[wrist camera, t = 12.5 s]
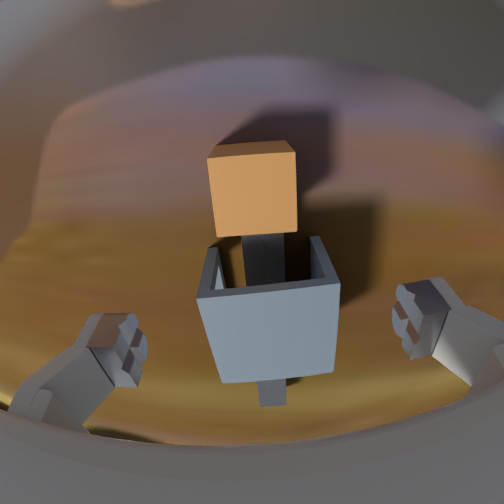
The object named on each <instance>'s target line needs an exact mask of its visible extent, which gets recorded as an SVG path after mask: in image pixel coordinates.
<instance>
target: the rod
mask: <svg viewBox="0 0 504 504" xmlns="http://www.w3.org/2000/svg"><path fill="white" fill-rule="evenodd" d="M241 239H242V248H243V258H244V267H245V277H246V286H247V287H248V286H258V285H267V284H276V283H285V255H284V233H269V234H255V235H241ZM257 384H258V393H259V402H260V407H265V406H279V405H286V378H285V379H276V380H265V381H257Z"/></svg>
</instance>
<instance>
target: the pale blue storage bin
mask: <svg viewBox="0 0 504 504" xmlns="http://www.w3.org/2000/svg"><path fill="white" fill-rule="evenodd" d="M310 265H311V279H310V280H302V281H293V282H285V283H276V284H267V285H258V286H248V287H238V288H228V289H226V285H225V280H224V275H223V270H222V265H221V260H220V255H219V250H218V247H212V248H208V251H207V255H206V259H205V264H204V268H203V272H202V276H201V280H200V285H199V289H198V293H197V298H196V300H197V303H198V307H199V310H200V313H201V317H202V320H203V324H204V327H205V330H206V334H207V337H208V340H209V343H210V347H211V350H212V353H213V356H214V359H215V362H216V365H217V369H218V372H219V375H220V378H221V381H222V383H239V382H253V381H265V380H276V379H285V378H294V377H302V376H310V375H317V374H323V373H330V372H333V370H334V361H335V351H336V340H337V329H338V316H339V301H340V281H339V279H338V276H337V274H336V272H335V269H334V267H333V265H332V263H331V260H330V258H329V256H328V254H327V252H326V249H325V247H324V245H323V243H322V241H321V238H320V236H310Z"/></svg>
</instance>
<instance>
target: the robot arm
mask: <svg viewBox="0 0 504 504" xmlns="http://www.w3.org/2000/svg"><path fill="white" fill-rule="evenodd" d="M396 297H397V299H398V301H397V303H396V304H395V305H394V306H393V311H392V323H393V327H394V330H395V332H396V334H397V335H398V336H400V337H401V338H403V342H402V346H403V348H404V350H405V353H406V355H407V357H408V359H409V360H412V359H416V358H421V357H425V356H429V355H432V356H433V357H434V358H435V359H437V360H438V361H439V362H441V363H442V364H443V365H444V366H446V367H447V368H448V369H450V370H451V371H452V372H453V373H455V374H456V375H457V376H459V377H460V378H461V379H462V380H464V381H465V382H466V383H468V384H469V385H470V386H471V387H470V389H469V390H468V392H467V394H466V395H465V397H464V398H463V399H461V400H458V401H456V402H453V403H450V404H448V405H445V406H442V407H439V408H437V409H434V410H431V411H428V412H425V413H422V414H419V415H416V416H412V417H409V418H406V419H402V420H399V421H395V422H391V423H388V424H384V425H380V426H376V427H372V428H367V429H363V430H358V431H354V432H349V433H343V434H338V435H333V436H327V437H320V438H314V439H307V440H299V441H290V442H281V443H269V444H255V445H232V446H196V445H173V444H159V443H148V442H139V441H131V440H123V439H116V438H110V437H104V436H98V435H93V434H91V433H90V432H89V431H88V430H87V429H86V428H85V427H84V426H83V425H82V424H83V423H84V422H85V420H86V419H87V418H88V417H89V416H90V415H91V414H92V413H93V412H94V410H95V409H96V408H97V407H98V406H99V405H100V404H101V403H102V402H103V401H104V399H105V398H106V397H107V396H108V395H109V394H110V393H111V392H112V391H113V390H114V388H115V387H138V384H139V381H140V377H141V374H142V370H141V368H140V365H141V364H142V363H143V362H145V361H146V357H147V347H148V345H147V341H146V337H145V335H144V333H143V332H142V331H140V330H139V329H138V328H137V326H138V323H139V322H138V320H137V318H136V316H135V314H133V313H105V314H104V313H98V314H92V315H90V316H89V318H88V320H87V321H86V323H85V325H84V327H83V329H82V330H81V332H80V334H79V336H78V338H77V339H76V341H75V343H74V345H73V347H68V348H67V349H66V350H64V351H63V352H62V353H60V354H59V355H58V356H56V357H55V358H54V359H52V360H51V361H50V362H48V363H47V364H46V365H44V366H43V367H42V368H40V369H39V370H38V371H36V372H35V373H34V374H32V375H31V376H30V377H29V378H27V379H26V380H25V381H23V382H22V383H21V384H20V386H19V388H18V390H17V392H16V394H15V396H14V398H13V400H12V402H11V404H10V406H9V408H8V410H7V411H5V410H2V409H0V504H504V322H502V321H500V320H498V319H496V318H494V317H492V316H490V315H488V314H486V313H484V312H481V311H479V310H477V309H475V308H473V307H471V306H465V305H464V304H463V303H462V301H461V300H460V299H459V297H458V296H457V295H456V294H455V292H454V291H453V290H452V289H451V288H450V286H449V285H448V284H447V283H446V281H445V280H444V279H443V278H442V277H439V276H438V277H434V278H429V279H426V280H421V281H415V282H410V283H404V284H399V285H398V287H397V290H396Z"/></svg>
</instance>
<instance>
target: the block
mask: <svg viewBox="0 0 504 504" xmlns="http://www.w3.org/2000/svg"><path fill="white" fill-rule="evenodd" d="M207 163H208V172H209V180H210V188H211V196H212V203H213V211H214V219H215V226H216V233H217V237H227V236H241V235H255V234H269V233H284V232H297V190H296V157H295V151H294V150H293V149H292V148H291V146H290V145H289V144H288V143H287V142H286V141H285V140H281V141H263V142H248V143H236V144H225V145H216V146H215V147H214V149H213V150H212V152H211V153H210V155H209V156H208V158H207Z"/></svg>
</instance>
